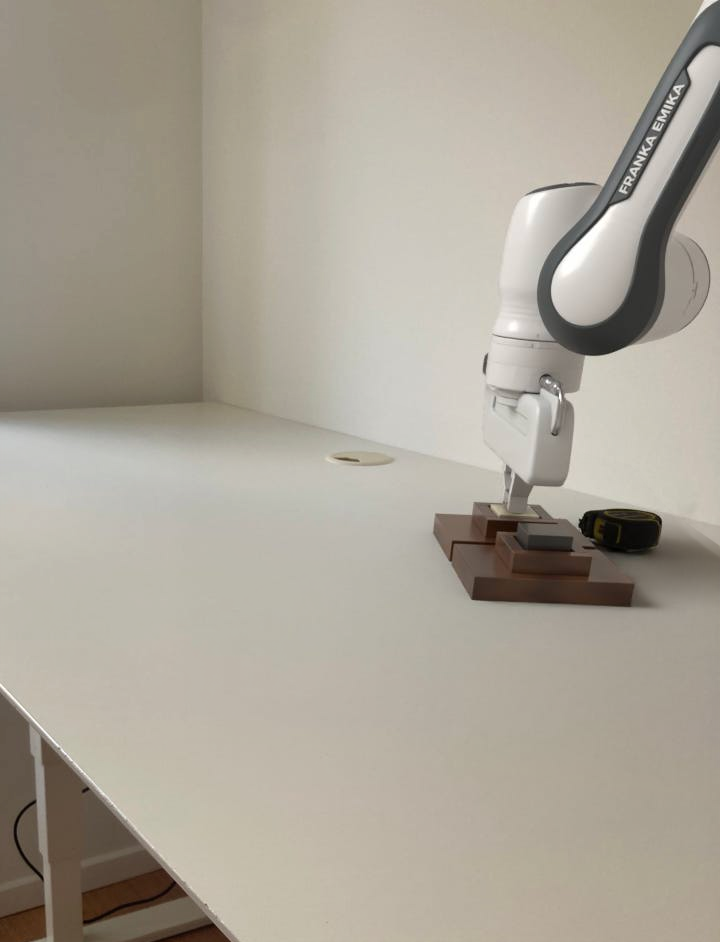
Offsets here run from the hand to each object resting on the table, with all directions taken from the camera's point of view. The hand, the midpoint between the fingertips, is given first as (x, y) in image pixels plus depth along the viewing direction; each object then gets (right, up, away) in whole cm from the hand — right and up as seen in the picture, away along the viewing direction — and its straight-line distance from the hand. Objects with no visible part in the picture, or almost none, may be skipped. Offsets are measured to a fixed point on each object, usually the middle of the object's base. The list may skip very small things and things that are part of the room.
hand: (513, 509), depth 103 cm
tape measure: (+12, -3, +5) cm, 13 cm away
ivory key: (0, -2, +1) cm, 2 cm away
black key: (0, -5, -10) cm, 11 cm away
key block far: (0, -4, +2) cm, 4 cm away
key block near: (0, -8, -9) cm, 12 cm away
